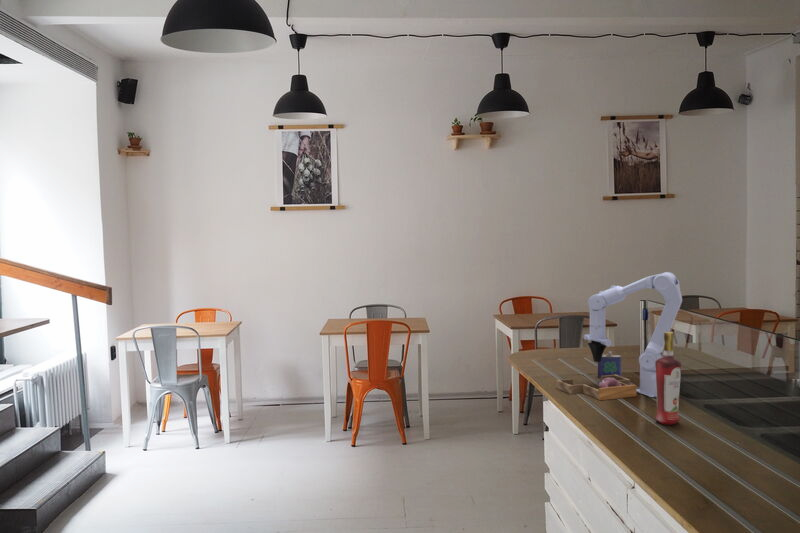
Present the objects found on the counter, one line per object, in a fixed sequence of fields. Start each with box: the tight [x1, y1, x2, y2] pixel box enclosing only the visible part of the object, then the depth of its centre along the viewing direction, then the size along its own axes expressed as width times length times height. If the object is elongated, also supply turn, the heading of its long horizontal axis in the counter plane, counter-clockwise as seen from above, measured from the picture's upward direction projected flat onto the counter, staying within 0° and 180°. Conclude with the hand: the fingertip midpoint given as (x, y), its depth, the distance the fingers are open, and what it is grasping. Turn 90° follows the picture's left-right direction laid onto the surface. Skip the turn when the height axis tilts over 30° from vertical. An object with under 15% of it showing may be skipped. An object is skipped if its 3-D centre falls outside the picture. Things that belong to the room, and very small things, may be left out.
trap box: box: [555, 374, 638, 401], centre depth 230 cm, size 20×26×4 cm
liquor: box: [655, 331, 682, 426], centre depth 193 cm, size 7×7×28 cm
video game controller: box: [598, 377, 622, 388], centre depth 227 cm, size 10×5×7 cm, turn 133°
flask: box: [597, 351, 622, 380], centre depth 250 cm, size 9×3×11 cm, turn 88°
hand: (597, 361), depth 238 cm, fingers closed
